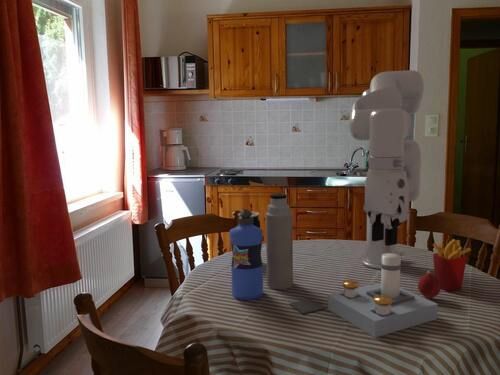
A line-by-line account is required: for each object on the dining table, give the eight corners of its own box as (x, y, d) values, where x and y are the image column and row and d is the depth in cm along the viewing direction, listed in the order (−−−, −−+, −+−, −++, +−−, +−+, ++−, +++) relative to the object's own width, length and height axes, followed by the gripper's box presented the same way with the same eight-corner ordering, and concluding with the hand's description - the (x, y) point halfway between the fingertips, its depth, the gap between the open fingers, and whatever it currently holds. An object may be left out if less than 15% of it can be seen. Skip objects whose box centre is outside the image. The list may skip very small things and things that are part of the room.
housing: (385, 294, 128) (386, 278, 127) (437, 319, 112) (437, 300, 111) (328, 309, 119) (328, 291, 118) (374, 337, 103) (375, 318, 102)
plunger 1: (351, 302, 121) (351, 278, 120) (361, 308, 117) (362, 283, 116) (339, 306, 119) (339, 281, 118) (349, 311, 116) (349, 286, 115)
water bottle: (252, 302, 124) (250, 214, 121) (225, 296, 129) (222, 211, 126) (269, 291, 132) (268, 208, 128) (242, 286, 137) (240, 205, 133)
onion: (439, 296, 126) (440, 268, 125) (440, 304, 120) (441, 275, 119) (417, 294, 128) (418, 267, 127) (417, 302, 122) (418, 273, 121)
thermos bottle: (294, 280, 141) (293, 192, 137) (291, 290, 133) (290, 196, 129) (269, 279, 142) (267, 192, 138) (265, 288, 135) (263, 196, 131)
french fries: (430, 285, 134) (432, 236, 132) (452, 281, 137) (454, 233, 134) (453, 296, 126) (455, 244, 123) (476, 292, 128) (478, 241, 126)
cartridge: (390, 306, 120) (391, 252, 118) (403, 313, 116) (404, 256, 113) (376, 310, 118) (377, 254, 116) (389, 317, 114) (390, 259, 111)
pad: (310, 299, 125) (310, 298, 125) (325, 308, 119) (325, 307, 119) (289, 304, 122) (289, 303, 122) (303, 314, 116) (303, 312, 116)
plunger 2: (382, 319, 111) (383, 293, 110) (395, 326, 107) (396, 299, 106) (369, 323, 109) (370, 296, 108) (381, 330, 105) (382, 303, 104)
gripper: (426, 166, 96) (423, 249, 99) (373, 160, 111) (372, 233, 114) (400, 168, 93) (398, 254, 96) (349, 162, 108) (348, 236, 111)
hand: (384, 241), depth 105 cm, fingers open, 3 cm apart
